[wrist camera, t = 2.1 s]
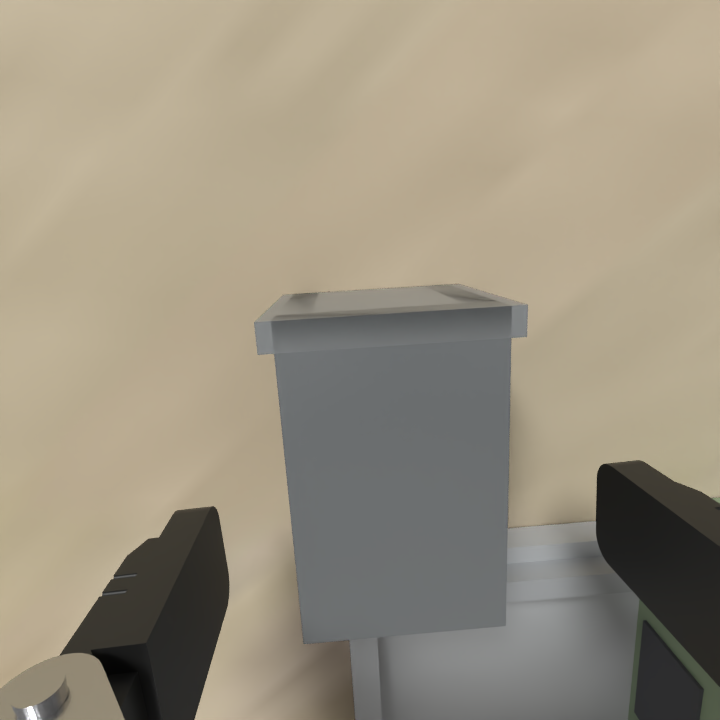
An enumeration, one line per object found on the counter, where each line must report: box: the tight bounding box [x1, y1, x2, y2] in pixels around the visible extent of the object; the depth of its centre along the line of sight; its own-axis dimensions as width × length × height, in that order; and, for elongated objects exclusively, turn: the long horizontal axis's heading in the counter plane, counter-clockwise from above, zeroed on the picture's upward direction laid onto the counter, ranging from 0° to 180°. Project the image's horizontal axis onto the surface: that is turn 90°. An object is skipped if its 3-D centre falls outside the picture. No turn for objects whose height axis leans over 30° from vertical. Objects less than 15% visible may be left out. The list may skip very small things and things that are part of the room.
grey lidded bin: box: [254, 284, 528, 644], centre depth 12 cm, size 7×5×5 cm
